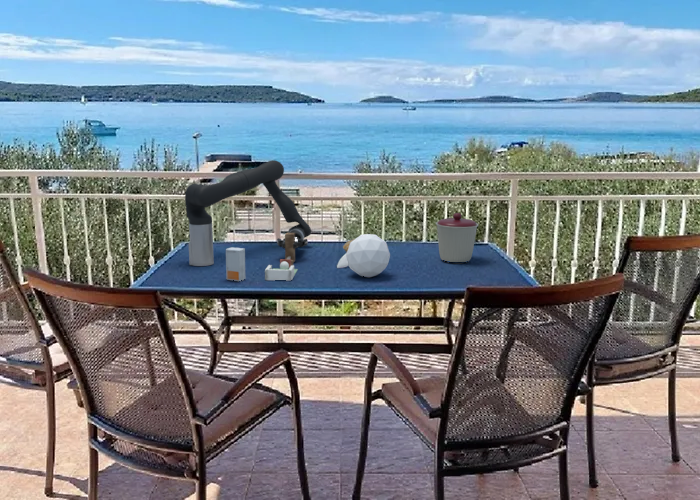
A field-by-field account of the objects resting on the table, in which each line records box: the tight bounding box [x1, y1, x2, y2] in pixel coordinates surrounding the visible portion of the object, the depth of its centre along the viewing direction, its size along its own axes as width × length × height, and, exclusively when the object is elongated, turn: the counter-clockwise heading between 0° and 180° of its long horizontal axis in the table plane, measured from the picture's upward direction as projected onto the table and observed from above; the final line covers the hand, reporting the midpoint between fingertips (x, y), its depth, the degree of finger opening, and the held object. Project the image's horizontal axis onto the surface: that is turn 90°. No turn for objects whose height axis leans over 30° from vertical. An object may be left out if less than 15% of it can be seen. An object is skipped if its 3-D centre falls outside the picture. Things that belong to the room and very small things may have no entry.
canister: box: [435, 212, 479, 263], centre depth 257 cm, size 18×18×21 cm
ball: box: [279, 261, 289, 270], centre depth 239 cm, size 4×4×4 cm
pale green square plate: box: [272, 267, 299, 276], centre depth 237 cm, size 10×9×1 cm
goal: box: [264, 264, 295, 282], centre depth 228 cm, size 10×8×4 cm
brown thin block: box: [279, 232, 296, 269], centre depth 248 cm, size 4×15×12 cm, turn 177°
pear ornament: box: [336, 233, 391, 278], centre depth 237 cm, size 16×22×28 cm
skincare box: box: [225, 247, 246, 282], centre depth 224 cm, size 6×4×12 cm
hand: (289, 246), depth 251 cm, fingers closed on brown thin block, 3 cm apart
